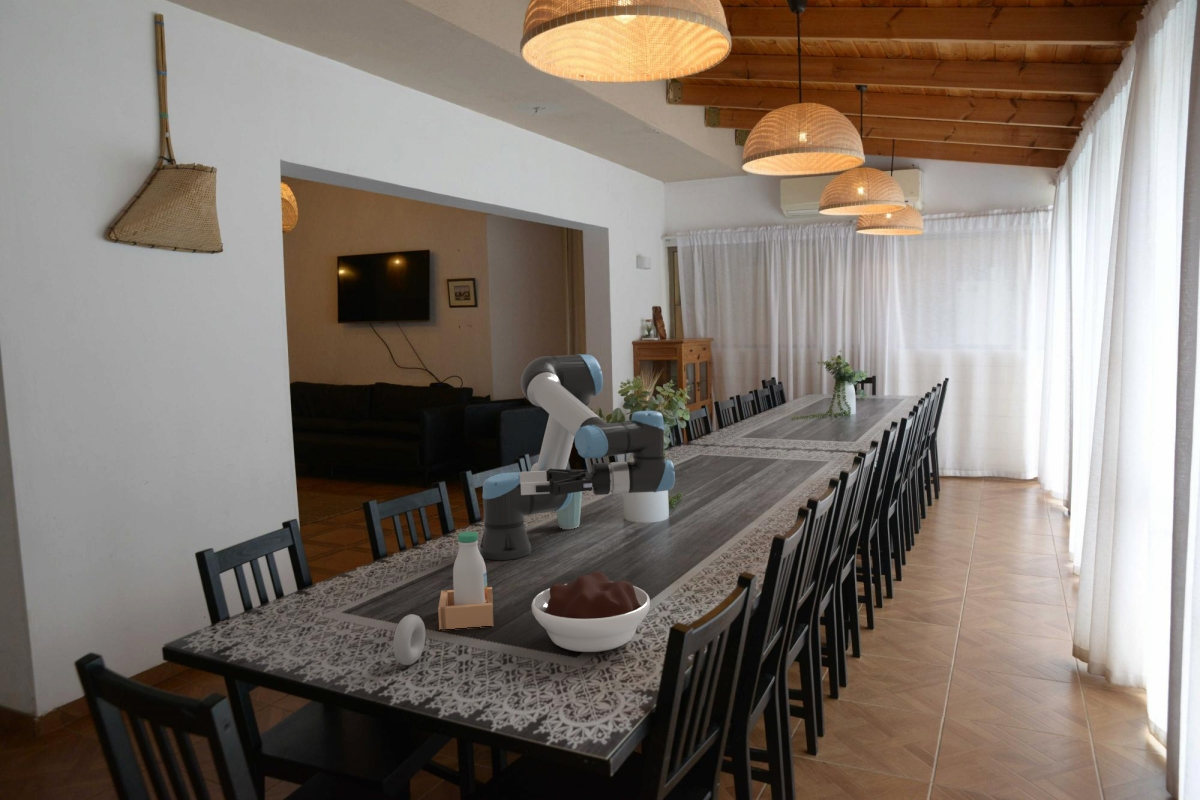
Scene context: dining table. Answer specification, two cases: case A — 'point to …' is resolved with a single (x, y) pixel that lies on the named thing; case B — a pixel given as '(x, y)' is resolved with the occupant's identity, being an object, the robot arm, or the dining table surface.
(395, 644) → the donut
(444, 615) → the box
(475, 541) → the milk bottle
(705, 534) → the dining table surface
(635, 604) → the bowl of chocolate pudding
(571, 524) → the disposable coffee cup
